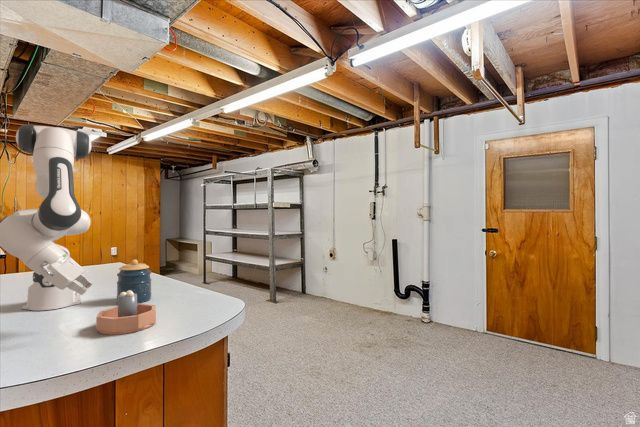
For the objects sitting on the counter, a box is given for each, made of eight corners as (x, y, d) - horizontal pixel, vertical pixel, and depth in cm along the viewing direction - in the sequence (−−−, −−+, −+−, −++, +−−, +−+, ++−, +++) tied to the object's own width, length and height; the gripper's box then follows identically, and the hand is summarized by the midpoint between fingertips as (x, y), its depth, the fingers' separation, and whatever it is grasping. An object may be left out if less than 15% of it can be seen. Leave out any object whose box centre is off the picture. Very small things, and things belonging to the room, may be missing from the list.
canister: (150, 295, 150) (150, 256, 150) (152, 302, 139) (152, 260, 139) (116, 299, 143) (117, 258, 143) (116, 306, 132) (116, 262, 132)
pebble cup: (118, 321, 110) (118, 290, 110) (137, 319, 112) (137, 288, 112) (116, 326, 105) (117, 293, 105) (136, 324, 107) (136, 292, 108)
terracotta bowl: (101, 322, 112) (102, 307, 112) (155, 315, 120) (155, 301, 120) (93, 338, 98) (93, 321, 98) (155, 329, 105) (155, 313, 105)
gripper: (47, 256, 91) (90, 288, 96) (65, 249, 110) (100, 276, 114) (26, 273, 89) (71, 305, 94) (48, 263, 108) (85, 290, 112)
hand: (87, 289), depth 104 cm, fingers open, 8 cm apart
